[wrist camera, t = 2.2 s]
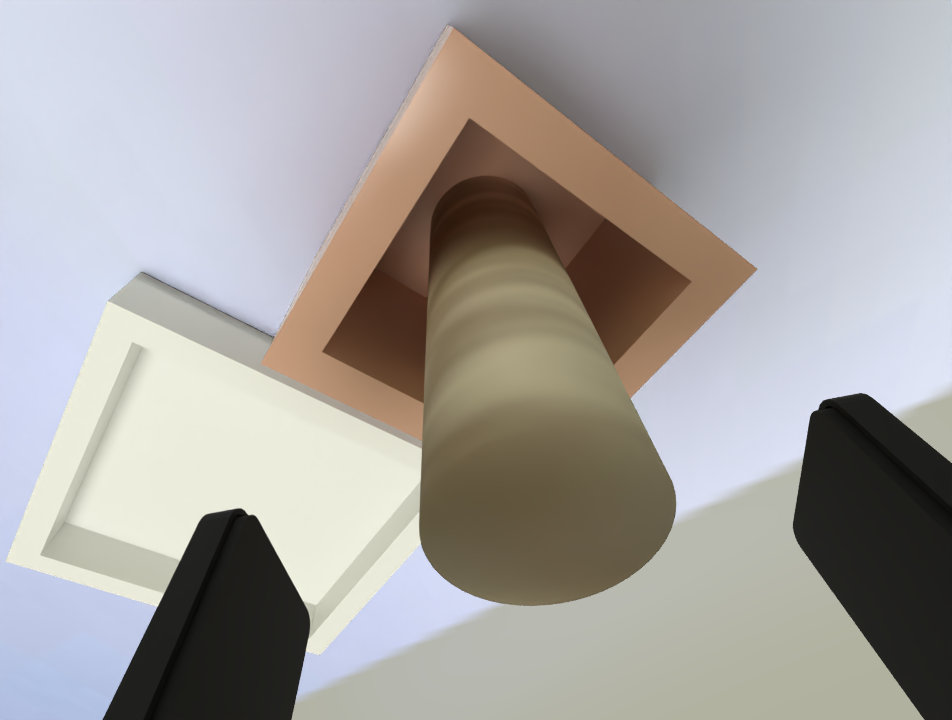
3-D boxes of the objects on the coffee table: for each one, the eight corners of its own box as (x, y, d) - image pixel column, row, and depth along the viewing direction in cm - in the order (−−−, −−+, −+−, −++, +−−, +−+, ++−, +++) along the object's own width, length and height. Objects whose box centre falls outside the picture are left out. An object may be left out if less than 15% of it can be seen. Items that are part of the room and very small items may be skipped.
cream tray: (141, 272, 22) (107, 300, 19) (477, 439, 27) (481, 476, 25) (39, 518, 28) (5, 561, 26) (327, 613, 33) (319, 655, 31)
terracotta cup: (446, 24, 18) (453, 27, 11) (653, 188, 21) (757, 269, 14) (315, 255, 22) (260, 363, 15) (507, 364, 25) (535, 494, 18)
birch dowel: (470, 152, 19) (524, 379, 7) (559, 216, 20) (730, 496, 8) (410, 245, 21) (370, 556, 9) (496, 298, 22) (565, 630, 10)
